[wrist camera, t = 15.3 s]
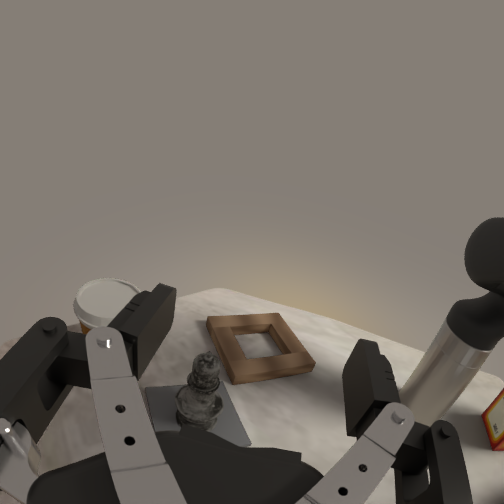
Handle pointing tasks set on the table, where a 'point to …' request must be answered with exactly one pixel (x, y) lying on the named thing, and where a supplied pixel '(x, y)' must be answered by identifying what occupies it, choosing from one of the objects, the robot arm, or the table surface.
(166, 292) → the robot arm
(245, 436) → the charcoal coaster
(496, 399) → the baking soda box
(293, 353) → the walnut holder
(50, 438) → the table surface
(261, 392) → the table surface
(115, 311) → the disposable coffee cup
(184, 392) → the black chess piece
